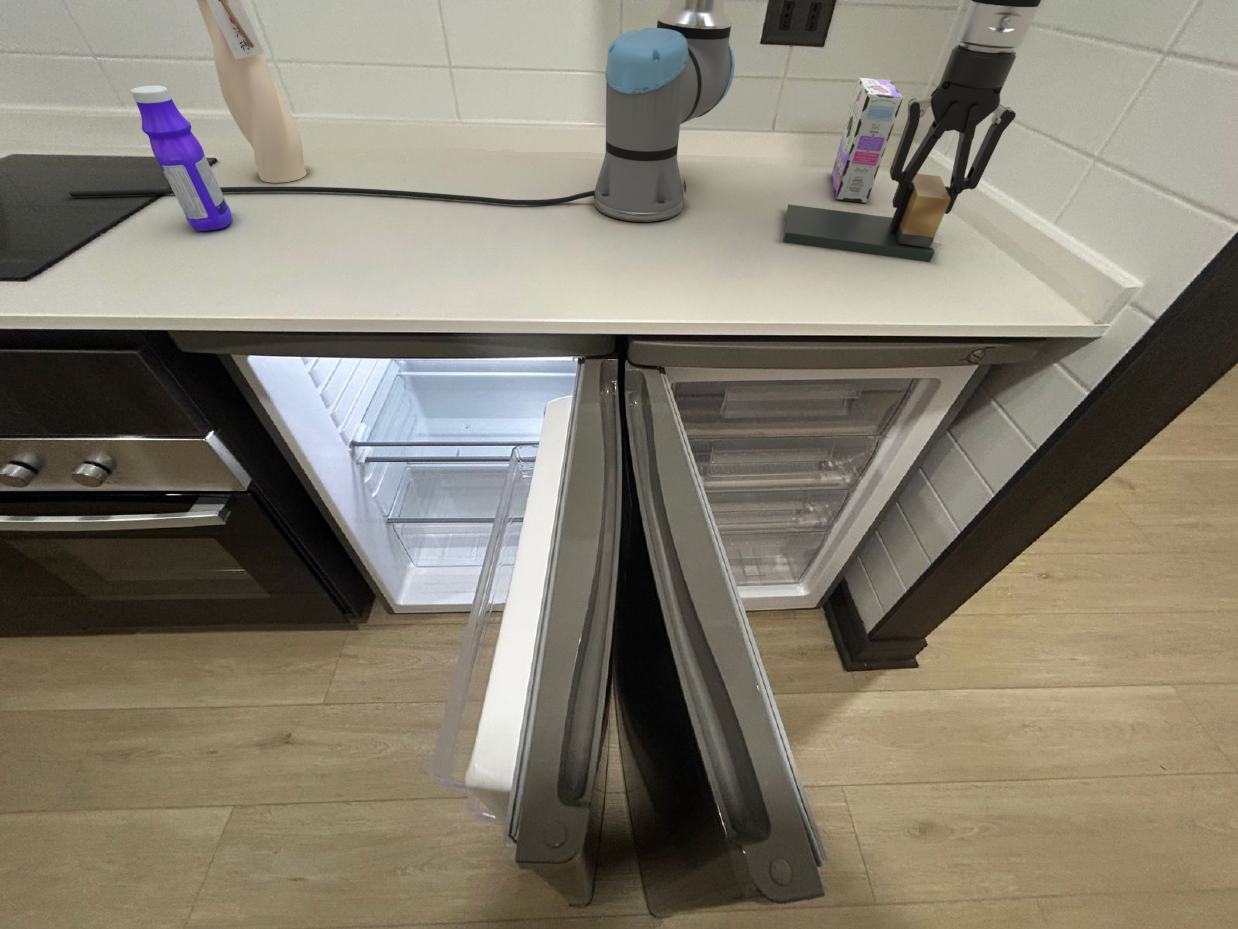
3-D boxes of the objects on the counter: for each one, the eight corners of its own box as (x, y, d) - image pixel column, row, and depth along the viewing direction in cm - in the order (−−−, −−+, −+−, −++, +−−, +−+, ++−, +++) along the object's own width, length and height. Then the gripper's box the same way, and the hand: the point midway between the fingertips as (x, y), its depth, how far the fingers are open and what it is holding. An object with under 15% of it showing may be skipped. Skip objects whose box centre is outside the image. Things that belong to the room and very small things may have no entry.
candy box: (867, 204, 99) (904, 96, 87) (834, 200, 100) (866, 93, 88) (860, 178, 109) (892, 77, 97) (829, 175, 109) (858, 75, 97)
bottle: (194, 217, 86) (126, 83, 73) (235, 212, 87) (176, 80, 75) (190, 235, 81) (116, 96, 68) (233, 230, 83) (169, 93, 70)
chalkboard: (783, 241, 87) (785, 232, 86) (786, 213, 95) (788, 204, 94) (930, 261, 83) (934, 252, 82) (920, 230, 92) (923, 221, 90)
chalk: (936, 250, 83) (940, 244, 82) (929, 247, 83) (933, 240, 82) (938, 241, 86) (942, 235, 85) (931, 238, 86) (935, 232, 85)
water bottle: (326, 175, 100) (260, -33, 80) (282, 189, 94) (198, -30, 74) (291, 163, 103) (218, -39, 83) (245, 176, 98) (156, -36, 78)
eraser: (898, 243, 84) (917, 195, 79) (892, 218, 90) (909, 172, 85) (929, 247, 83) (950, 199, 78) (921, 222, 90) (940, 175, 85)
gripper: (917, 45, 69) (854, 233, 85) (1071, 58, 66) (975, 248, 83) (910, 36, 74) (852, 214, 90) (1052, 47, 71) (965, 229, 88)
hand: (910, 230), depth 86 cm, fingers closed on eraser, 4 cm apart
